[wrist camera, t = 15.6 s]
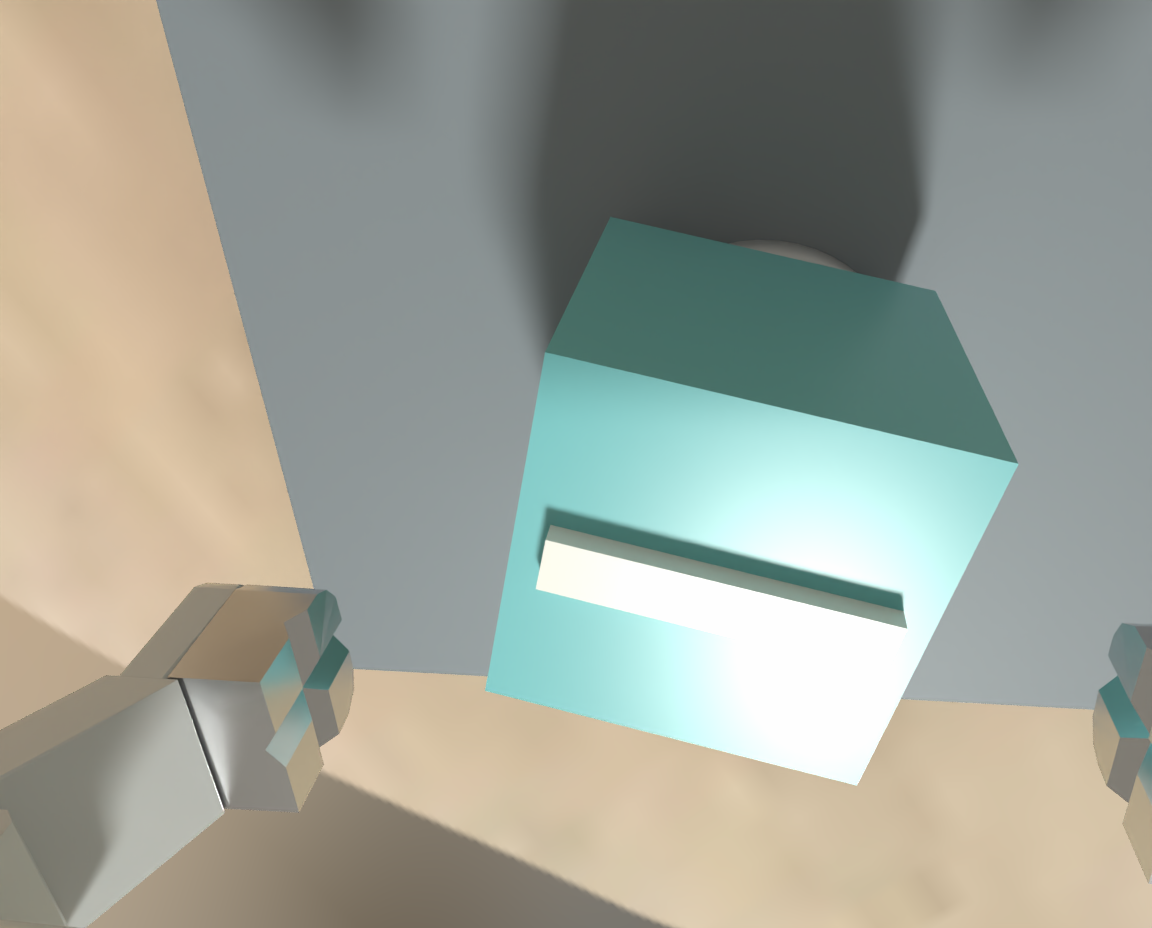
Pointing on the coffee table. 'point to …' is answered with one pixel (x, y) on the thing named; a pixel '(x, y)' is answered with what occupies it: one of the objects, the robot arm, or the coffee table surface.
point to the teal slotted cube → (743, 500)
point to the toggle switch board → (695, 207)
